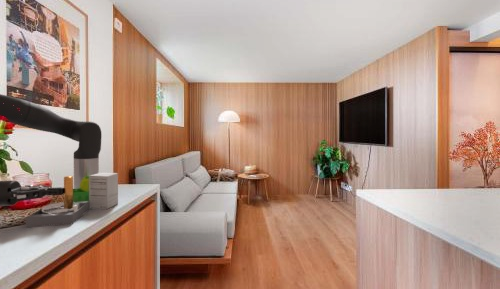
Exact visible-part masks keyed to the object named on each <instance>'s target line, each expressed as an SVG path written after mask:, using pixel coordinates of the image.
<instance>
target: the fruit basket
mask: <svg viewBox="0 0 500 289" xmlns="http://www.w3.org/2000/svg"><path fill="white" fill-rule="evenodd" d="M81 201H89V176H86V177H84V178H83V179H82V181H81V182H80V188H77V189H74V188H73V202H81Z"/></svg>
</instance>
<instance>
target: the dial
mask: <svg viewBox="0 0 500 289" xmlns="http://www.w3.org/2000/svg"><path fill="white" fill-rule="evenodd" d="M63 188H64V194H63V202H62V201H61V202H62V203H60V202H54V203H55V204H50V203H49V204H50V205H49V204H47V205H45V206H42V207H41V209H42V214H49V213H50V214H54V213H71V212H74V206H75V205H78V209H79V203H77V202H73V189H74V175H73V176H72V175H71V176H69V175H67V176H64V177H63Z"/></svg>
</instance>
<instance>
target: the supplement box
mask: <svg viewBox="0 0 500 289" xmlns="http://www.w3.org/2000/svg"><path fill="white" fill-rule="evenodd" d="M89 201H90V209H94V210H95V209H97V210H99V209H101V210H108V209H110V208H112V207H114V206H116V205H118V204H119V173H117V172H99V173H98V174H94V175H90V176H89Z"/></svg>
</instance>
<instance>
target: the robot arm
mask: <svg viewBox="0 0 500 289" xmlns="http://www.w3.org/2000/svg"><path fill="white" fill-rule="evenodd" d="M3 103H4V104H3ZM13 105H14V106H13ZM17 107H18V108H20V111H18V109H17ZM21 114H22V115H21ZM0 115H1V116H4V117H6V118H7V119H8V120H9V122H8V123H11V124H14V125H17V126H21V127H24V128H29V129H32V130H36V131H42V132H47V133H51V134H57V135H60V136H63V137H65V138H66V139H67V138H68V139H70V140H73V141H75V142H78V148H77V150H74V152H73V189H77V188H80V182H81V181H82V179H83V178H84V177H86V176H90V175H94V174H98V173H100V170H99V169H100V167H99V166H100V165H99V158H100V157H99V156H100V152H101V151H102V129H101V127H100V125H99V124H98V123H97V122H94V121H78V120H74V119H70V118H67V117H63V116H61V115H60V114H59V115H58V114H57V113H55V112H53V111H52V110H50V109H49V108H46V107H45V106H42V105H40V104H38V103H34V102H31V101H29V100H25V99H22V98H19V97H14V96H11V95H10V96H9V95H5V94H1V93H0ZM62 195H64V186H62V187H52V185H45V184H41V183H40V184H36V185H33V184H25V185H24V186H22V185H21V183H20V182H19V181H17V180H0V207H4V206H5V207H6V206H7V207H8V206H15V205H17V203H18V202H22V201H28V200H29V201H30V200H35V199H43V197H46V198H47V197H49V196H62Z"/></svg>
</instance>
